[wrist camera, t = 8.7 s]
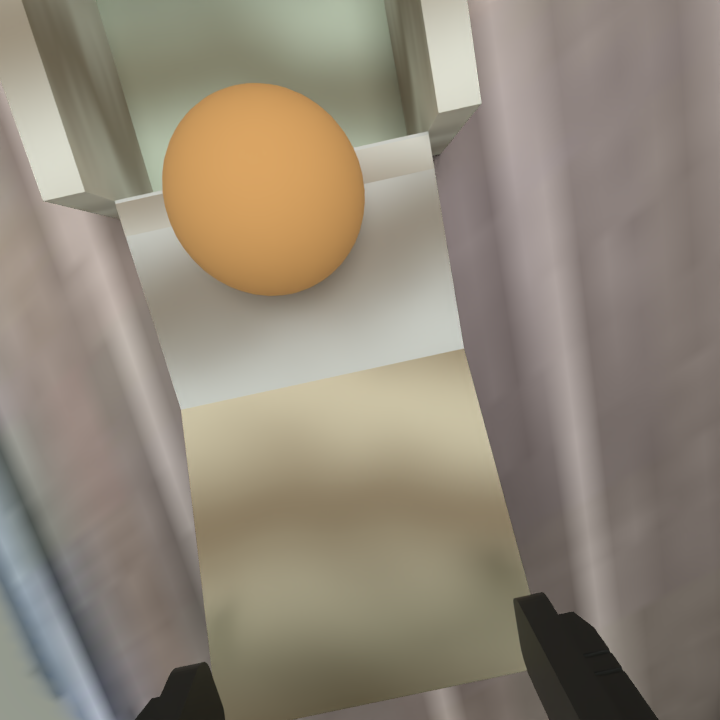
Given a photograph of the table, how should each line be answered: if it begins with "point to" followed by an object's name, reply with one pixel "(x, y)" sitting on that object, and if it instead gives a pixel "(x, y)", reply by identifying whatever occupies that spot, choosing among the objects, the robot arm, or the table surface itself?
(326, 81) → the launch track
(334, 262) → the ball
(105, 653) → the table surface
